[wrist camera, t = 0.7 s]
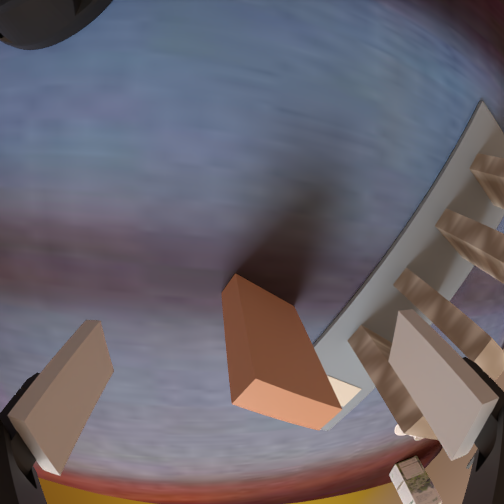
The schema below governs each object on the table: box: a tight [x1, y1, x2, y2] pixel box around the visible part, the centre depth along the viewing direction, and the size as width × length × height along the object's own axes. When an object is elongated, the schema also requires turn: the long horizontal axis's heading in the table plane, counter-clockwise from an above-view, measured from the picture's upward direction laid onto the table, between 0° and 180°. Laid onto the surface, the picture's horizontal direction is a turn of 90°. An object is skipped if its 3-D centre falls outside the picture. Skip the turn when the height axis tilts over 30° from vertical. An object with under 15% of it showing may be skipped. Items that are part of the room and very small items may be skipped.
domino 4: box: [393, 268, 504, 380], centre depth 26 cm, size 2×7×14 cm, turn 55°
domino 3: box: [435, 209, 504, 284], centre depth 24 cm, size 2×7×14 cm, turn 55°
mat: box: [313, 101, 504, 431], centre depth 32 cm, size 46×13×1 cm, turn 145°
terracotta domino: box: [222, 273, 342, 430], centre depth 24 cm, size 2×7×14 cm, turn 55°
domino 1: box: [347, 325, 438, 440], centre depth 27 cm, size 2×7×14 cm, turn 55°
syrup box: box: [389, 456, 442, 504], centre depth 43 cm, size 6×6×14 cm
